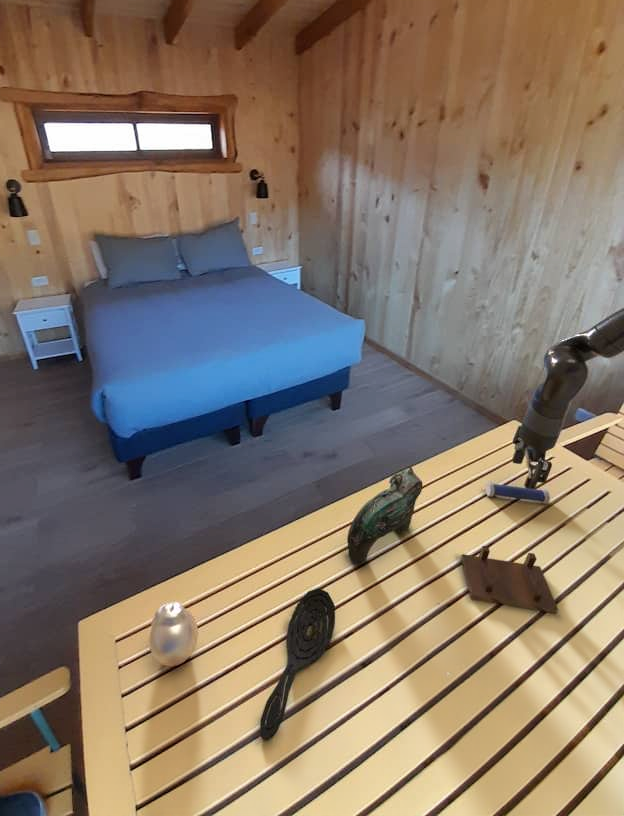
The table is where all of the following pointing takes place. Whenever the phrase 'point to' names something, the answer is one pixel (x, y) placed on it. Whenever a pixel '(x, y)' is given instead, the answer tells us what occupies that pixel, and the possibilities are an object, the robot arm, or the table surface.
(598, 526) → the table surface
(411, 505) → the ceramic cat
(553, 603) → the holder
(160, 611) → the silver rounded egg shape
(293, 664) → the hairbrush
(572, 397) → the robot arm
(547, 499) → the handle
